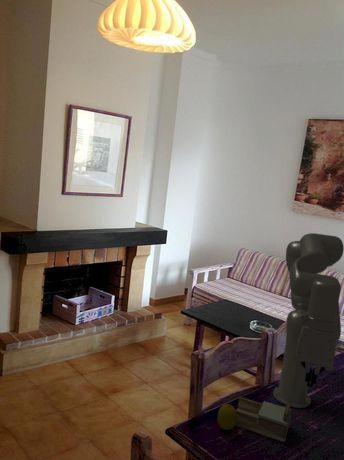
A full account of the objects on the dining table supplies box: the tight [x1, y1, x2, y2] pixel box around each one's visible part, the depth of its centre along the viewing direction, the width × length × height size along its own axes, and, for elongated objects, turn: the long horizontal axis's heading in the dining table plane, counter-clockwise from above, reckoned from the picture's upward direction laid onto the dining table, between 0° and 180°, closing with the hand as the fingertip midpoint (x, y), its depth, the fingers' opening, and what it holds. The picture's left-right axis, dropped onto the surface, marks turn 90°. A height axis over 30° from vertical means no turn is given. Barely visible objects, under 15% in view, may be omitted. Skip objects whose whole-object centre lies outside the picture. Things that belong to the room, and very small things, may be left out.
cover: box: [258, 400, 292, 426], centre depth 124 cm, size 9×8×3 cm
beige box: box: [234, 396, 292, 443], centre depth 126 cm, size 9×16×4 cm, turn 67°
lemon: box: [217, 403, 237, 431], centre depth 121 cm, size 6×6×8 cm
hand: (309, 384), depth 119 cm, fingers closed
